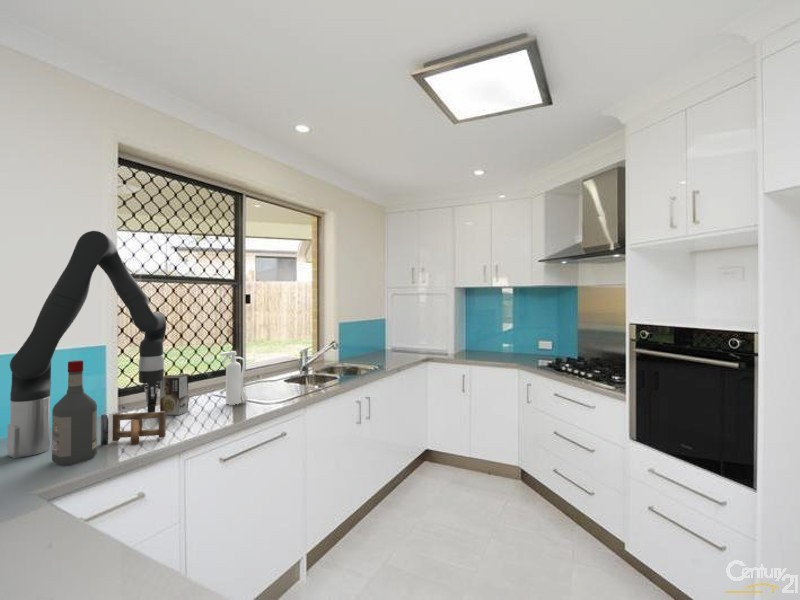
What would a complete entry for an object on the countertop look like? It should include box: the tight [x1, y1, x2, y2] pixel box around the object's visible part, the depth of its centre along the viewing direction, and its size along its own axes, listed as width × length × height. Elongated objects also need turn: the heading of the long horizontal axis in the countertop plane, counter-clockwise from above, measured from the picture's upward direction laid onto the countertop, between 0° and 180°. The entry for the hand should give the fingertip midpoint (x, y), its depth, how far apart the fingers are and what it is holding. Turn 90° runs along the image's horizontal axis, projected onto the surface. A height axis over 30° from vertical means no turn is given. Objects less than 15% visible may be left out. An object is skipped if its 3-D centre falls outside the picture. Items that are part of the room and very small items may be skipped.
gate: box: [111, 410, 167, 442], centre depth 134 cm, size 16×2×9 cm, turn 103°
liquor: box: [51, 360, 98, 467], centre depth 117 cm, size 9×9×30 cm
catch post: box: [130, 419, 140, 446], centre depth 130 cm, size 2×2×8 cm
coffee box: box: [159, 374, 189, 416], centre depth 167 cm, size 9×6×16 cm
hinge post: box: [100, 413, 109, 446], centre depth 130 cm, size 2×2×10 cm
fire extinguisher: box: [219, 350, 250, 406], centre depth 183 cm, size 7×12×25 cm, turn 108°
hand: (151, 416), depth 137 cm, fingers closed
